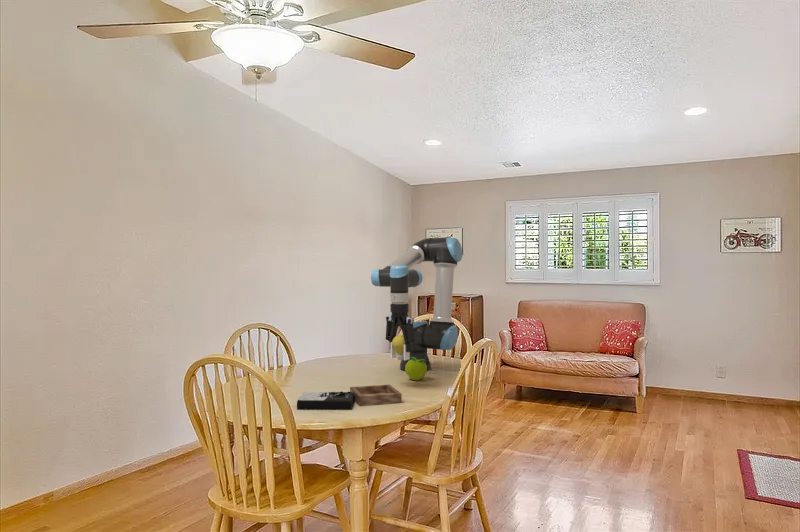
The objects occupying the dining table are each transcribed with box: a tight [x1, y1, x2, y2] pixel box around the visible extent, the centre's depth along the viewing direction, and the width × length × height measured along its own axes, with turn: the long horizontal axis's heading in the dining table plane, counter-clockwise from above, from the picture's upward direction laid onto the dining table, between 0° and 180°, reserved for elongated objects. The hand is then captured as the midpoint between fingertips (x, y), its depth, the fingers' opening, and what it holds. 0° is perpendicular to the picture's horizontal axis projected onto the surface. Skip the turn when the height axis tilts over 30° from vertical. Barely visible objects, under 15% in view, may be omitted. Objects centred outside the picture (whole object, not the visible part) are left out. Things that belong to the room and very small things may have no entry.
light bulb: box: [392, 334, 405, 361], centre depth 223 cm, size 7×7×10 cm
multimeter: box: [296, 391, 355, 411], centre depth 196 cm, size 13×19×5 cm
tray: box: [349, 383, 403, 407], centre depth 205 cm, size 16×16×3 cm
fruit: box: [404, 357, 428, 381], centre depth 239 cm, size 9×9×10 cm
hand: (400, 358), depth 223 cm, fingers closed on light bulb, 7 cm apart
